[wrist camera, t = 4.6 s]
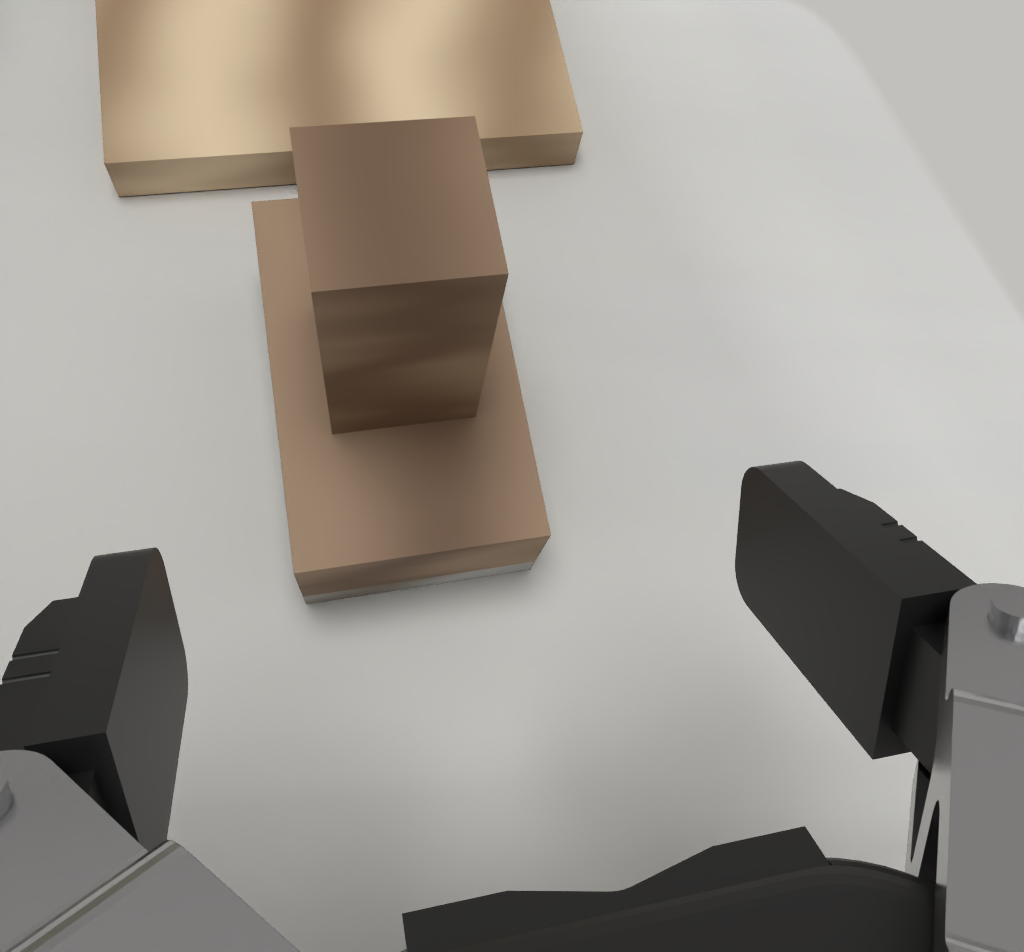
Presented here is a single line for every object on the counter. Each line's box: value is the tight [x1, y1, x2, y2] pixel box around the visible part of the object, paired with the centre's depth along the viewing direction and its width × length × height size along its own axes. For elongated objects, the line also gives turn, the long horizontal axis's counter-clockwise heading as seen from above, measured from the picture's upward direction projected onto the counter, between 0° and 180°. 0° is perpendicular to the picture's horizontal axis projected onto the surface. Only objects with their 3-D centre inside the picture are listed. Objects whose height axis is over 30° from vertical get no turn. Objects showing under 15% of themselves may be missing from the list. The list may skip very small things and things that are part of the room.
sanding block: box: [252, 116, 551, 604], centre depth 21 cm, size 6×10×10 cm, turn 11°
